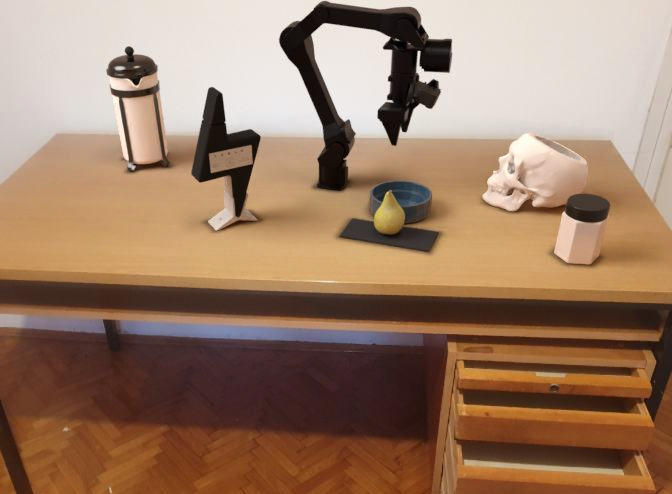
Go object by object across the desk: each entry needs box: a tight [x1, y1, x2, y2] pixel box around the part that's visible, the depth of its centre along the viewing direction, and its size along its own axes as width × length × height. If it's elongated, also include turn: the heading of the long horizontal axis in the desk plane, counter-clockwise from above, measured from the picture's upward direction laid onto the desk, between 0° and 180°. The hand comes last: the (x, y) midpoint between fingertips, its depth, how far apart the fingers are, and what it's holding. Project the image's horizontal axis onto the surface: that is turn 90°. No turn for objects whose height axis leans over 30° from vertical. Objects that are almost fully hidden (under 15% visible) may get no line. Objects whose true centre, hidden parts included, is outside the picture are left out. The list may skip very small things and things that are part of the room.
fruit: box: [373, 190, 405, 235], centre depth 151 cm, size 7×8×12 cm
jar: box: [553, 193, 611, 266], centre depth 142 cm, size 9×8×12 cm
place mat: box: [339, 217, 439, 253], centre depth 155 cm, size 20×9×1 cm, turn 68°
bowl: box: [368, 179, 433, 224], centre depth 163 cm, size 14×14×4 cm
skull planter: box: [481, 132, 589, 212], centre depth 162 cm, size 14×20×19 cm
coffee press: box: [105, 46, 171, 173], centre depth 184 cm, size 17×16×30 cm
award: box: [191, 86, 262, 232], centre depth 153 cm, size 15×5×30 cm, turn 117°
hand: (399, 138), depth 166 cm, fingers open, 9 cm apart
